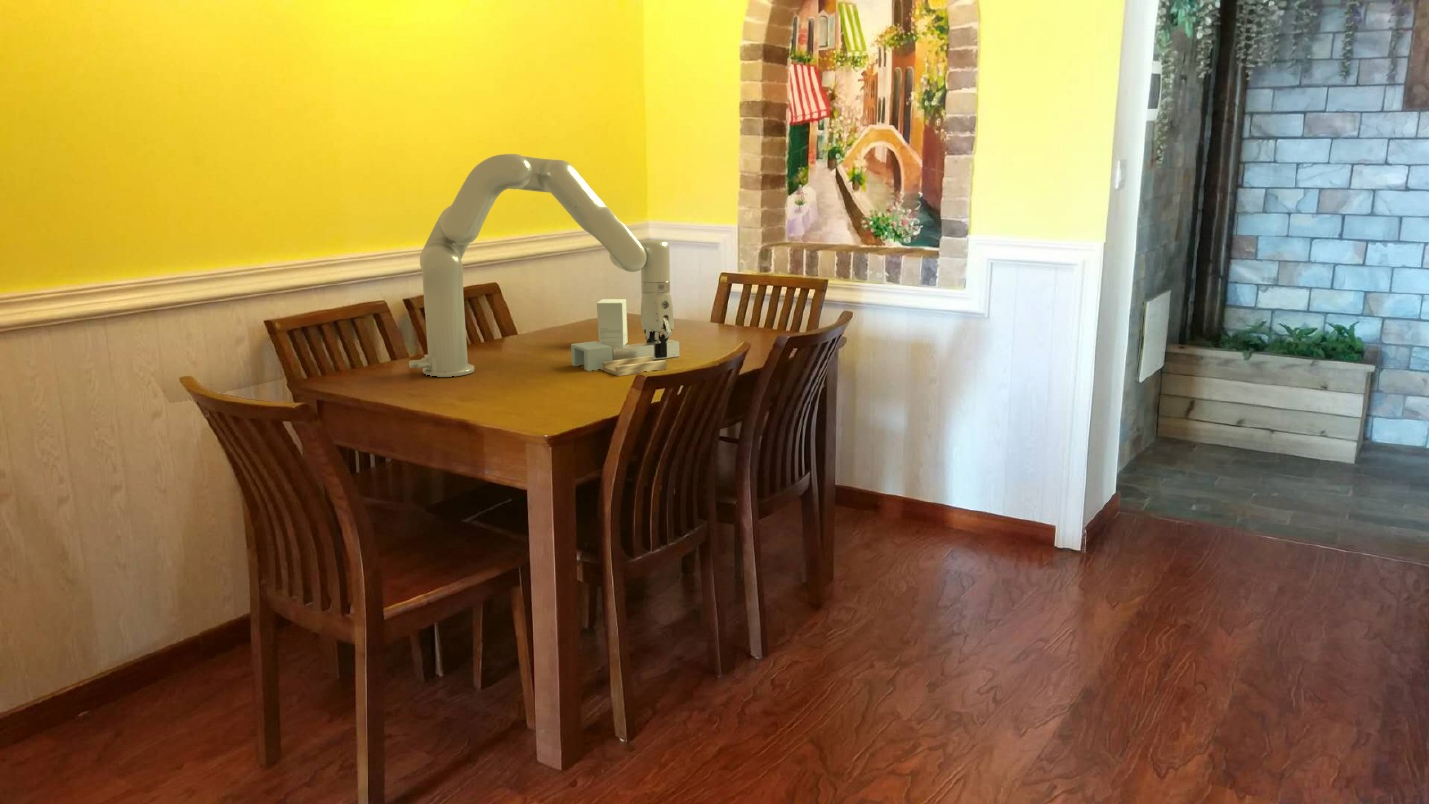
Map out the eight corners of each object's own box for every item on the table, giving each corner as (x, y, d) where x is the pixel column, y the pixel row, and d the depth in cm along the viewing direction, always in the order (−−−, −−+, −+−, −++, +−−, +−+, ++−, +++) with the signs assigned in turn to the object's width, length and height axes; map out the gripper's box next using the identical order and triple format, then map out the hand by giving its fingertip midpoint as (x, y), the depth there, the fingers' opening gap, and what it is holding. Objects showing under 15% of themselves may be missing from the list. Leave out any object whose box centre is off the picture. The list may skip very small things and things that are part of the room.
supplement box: (628, 342, 300) (627, 298, 297) (623, 347, 293) (622, 302, 290) (603, 341, 301) (601, 298, 298) (597, 346, 294) (596, 302, 291)
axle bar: (613, 364, 268) (613, 349, 267) (606, 362, 272) (605, 347, 271) (679, 356, 279) (679, 341, 278) (671, 353, 282) (671, 339, 281)
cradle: (618, 376, 256) (617, 367, 255) (602, 370, 262) (602, 361, 262) (666, 369, 263) (666, 360, 263) (650, 363, 270) (650, 355, 269)
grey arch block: (588, 371, 262) (587, 349, 260) (571, 364, 269) (570, 344, 268) (612, 367, 265) (612, 346, 264) (595, 361, 273) (595, 341, 272)
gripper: (684, 290, 268) (685, 359, 273) (652, 283, 282) (653, 349, 286) (659, 292, 264) (660, 363, 269) (627, 285, 278) (629, 352, 282)
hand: (656, 355), depth 277 cm, fingers closed on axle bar, 4 cm apart
